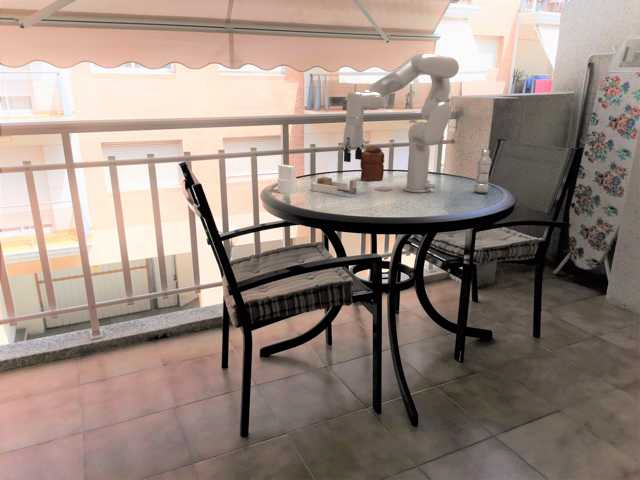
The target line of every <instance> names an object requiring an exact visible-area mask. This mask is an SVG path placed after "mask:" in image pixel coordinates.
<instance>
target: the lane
mask: <svg viewBox="0 0 640 480" xmlns="http://www.w3.org/2000/svg"><path fill="white" fill-rule="evenodd" d="M348 184H349V183H347V182H341V181H334V180H333V181H332V186H331V185H324V184H317V181H314V182H311V183H310V190H311V191H312V192H319V193H325V194H330V195H336V194H338V193H341V192H343V191H337V189H341V190H348Z"/></svg>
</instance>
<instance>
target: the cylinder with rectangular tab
mask: <svg viewBox="0 0 640 480" xmlns="http://www.w3.org/2000/svg"><path fill="white" fill-rule="evenodd" d="M296 172H297V169H296V166H293V165H289V164H279V165H278V178H277V193H279V192H280V194H285V193H286V194H294V193H297V191H298V178H297V176H296V174H297V173H296ZM286 194H285V195H286Z"/></svg>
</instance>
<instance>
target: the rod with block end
mask: <svg viewBox="0 0 640 480" xmlns="http://www.w3.org/2000/svg"><path fill="white" fill-rule="evenodd" d="M332 180H333V178H332V177H326V176H321V177H318V178H316V182H317V184H324V185H331V186H332ZM357 183H358V181H357V180H349V189H347V190H341V189H337V191H343V192H349V193H350V194H356V191H357ZM348 190H349V191H348Z"/></svg>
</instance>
